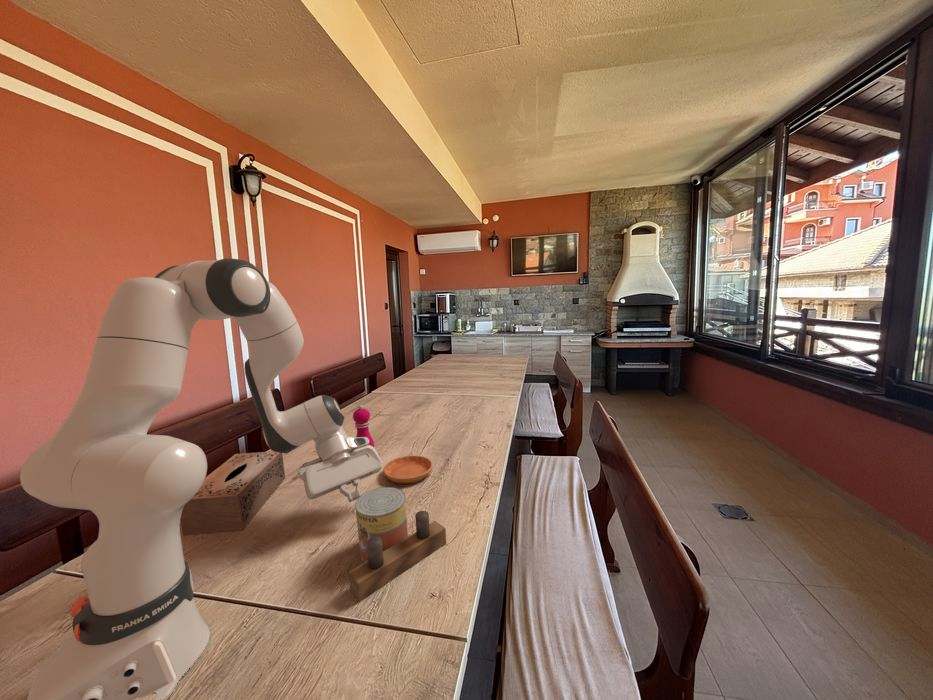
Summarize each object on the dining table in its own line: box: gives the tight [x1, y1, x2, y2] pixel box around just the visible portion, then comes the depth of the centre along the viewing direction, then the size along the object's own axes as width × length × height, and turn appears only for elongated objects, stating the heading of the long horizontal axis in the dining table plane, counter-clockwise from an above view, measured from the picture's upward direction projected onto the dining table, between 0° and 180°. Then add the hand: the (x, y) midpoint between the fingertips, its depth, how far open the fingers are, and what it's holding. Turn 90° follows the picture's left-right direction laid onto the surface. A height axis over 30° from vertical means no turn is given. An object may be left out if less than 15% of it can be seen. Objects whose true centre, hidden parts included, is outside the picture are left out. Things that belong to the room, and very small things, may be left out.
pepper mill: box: [352, 404, 375, 448], centre depth 127 cm, size 7×7×20 cm
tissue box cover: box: [180, 451, 286, 536], centre depth 101 cm, size 26×14×10 cm, turn 5°
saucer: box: [383, 455, 433, 485], centre depth 116 cm, size 16×16×3 cm
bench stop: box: [348, 510, 447, 602], centre depth 76 cm, size 22×4×9 cm, turn 134°
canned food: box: [354, 486, 409, 563], centre depth 81 cm, size 11×11×12 cm
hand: (355, 499), depth 91 cm, fingers closed
